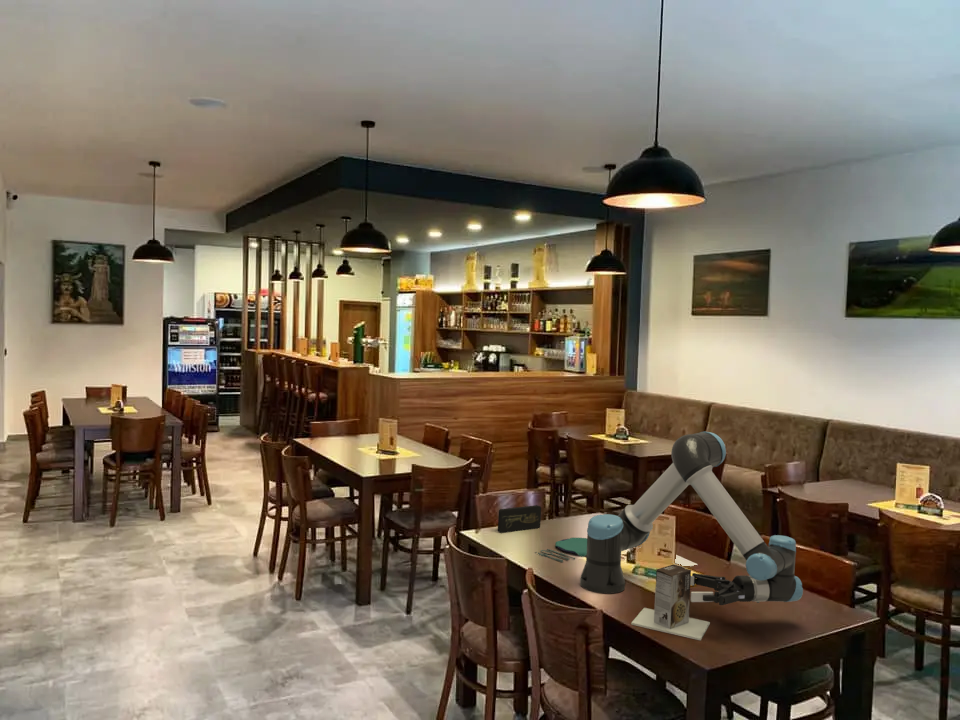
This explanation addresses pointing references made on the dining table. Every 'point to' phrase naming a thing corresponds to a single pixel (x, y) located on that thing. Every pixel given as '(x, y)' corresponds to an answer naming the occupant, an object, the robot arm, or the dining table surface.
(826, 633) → the dining table surface
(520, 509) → the nameplate
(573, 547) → the cutlery set
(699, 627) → the mat
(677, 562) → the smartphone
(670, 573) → the coffee box
